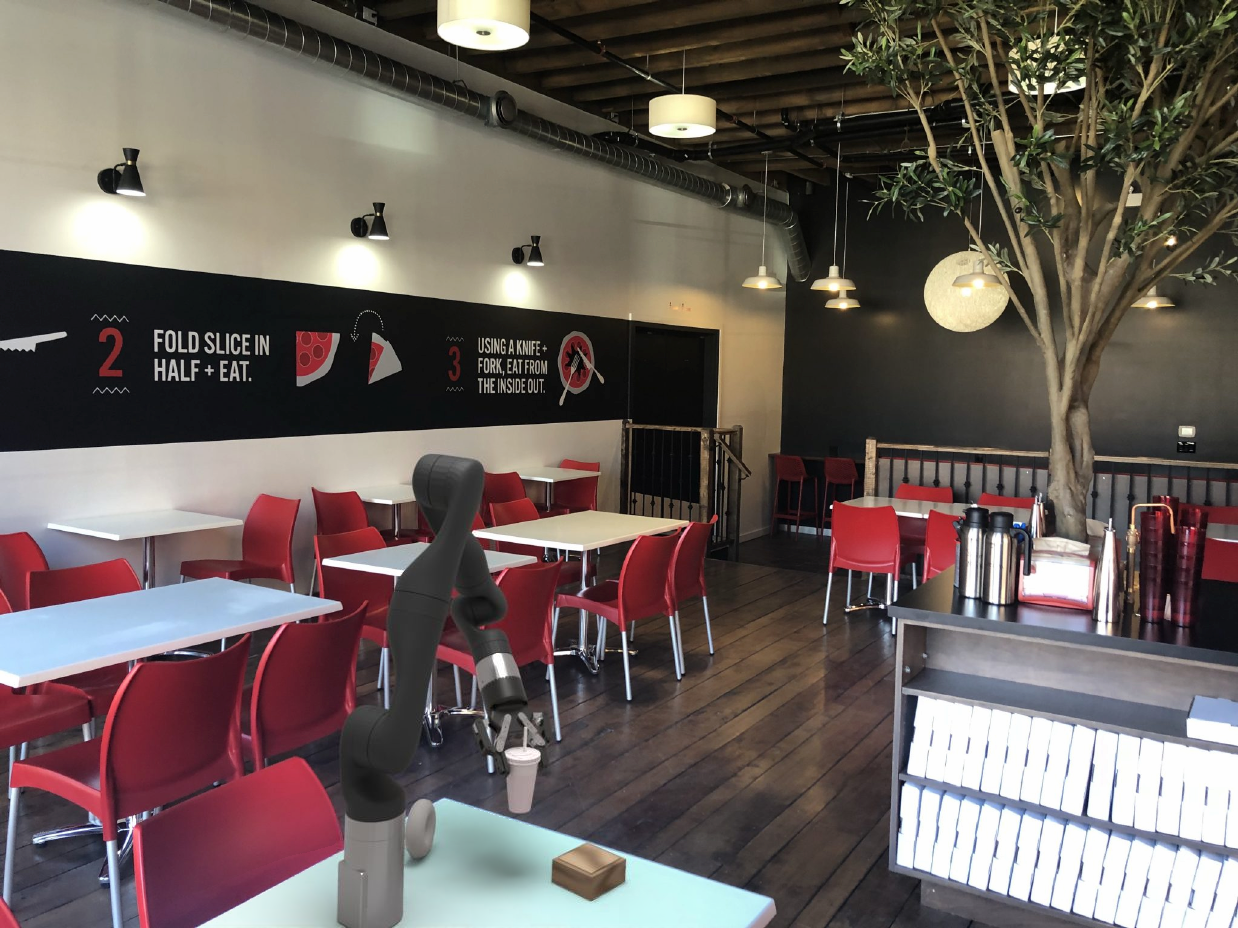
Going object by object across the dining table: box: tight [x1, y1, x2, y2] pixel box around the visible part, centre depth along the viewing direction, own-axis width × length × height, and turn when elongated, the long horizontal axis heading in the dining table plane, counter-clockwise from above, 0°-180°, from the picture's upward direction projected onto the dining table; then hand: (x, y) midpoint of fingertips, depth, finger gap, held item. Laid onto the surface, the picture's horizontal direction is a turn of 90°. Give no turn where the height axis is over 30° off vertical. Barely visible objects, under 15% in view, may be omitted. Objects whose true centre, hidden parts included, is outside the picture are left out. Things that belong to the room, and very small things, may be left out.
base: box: [550, 841, 627, 902], centre depth 162 cm, size 9×9×4 cm
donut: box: [405, 798, 437, 859], centre depth 169 cm, size 10×4×10 cm, turn 174°
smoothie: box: [504, 727, 541, 814], centre depth 161 cm, size 6×6×14 cm
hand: (525, 772), depth 160 cm, fingers closed on smoothie, 6 cm apart
